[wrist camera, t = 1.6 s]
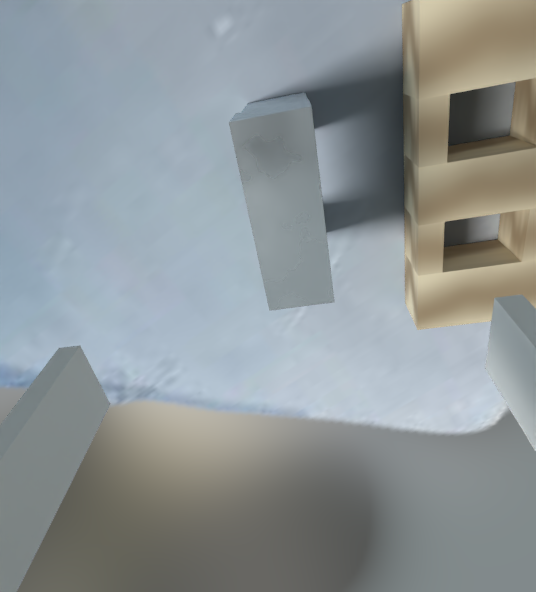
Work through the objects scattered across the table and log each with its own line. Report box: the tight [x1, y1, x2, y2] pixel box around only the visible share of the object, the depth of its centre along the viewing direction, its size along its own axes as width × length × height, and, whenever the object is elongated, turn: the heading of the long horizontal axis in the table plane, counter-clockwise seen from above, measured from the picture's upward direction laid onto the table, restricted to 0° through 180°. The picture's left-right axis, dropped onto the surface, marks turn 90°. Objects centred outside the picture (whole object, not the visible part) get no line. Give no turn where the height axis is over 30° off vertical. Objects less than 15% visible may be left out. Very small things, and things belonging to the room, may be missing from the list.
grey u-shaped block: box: [229, 92, 334, 310], centre depth 26 cm, size 11×4×10 cm, turn 10°
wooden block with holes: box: [402, 0, 536, 330], centre depth 28 cm, size 22×9×4 cm, turn 10°
